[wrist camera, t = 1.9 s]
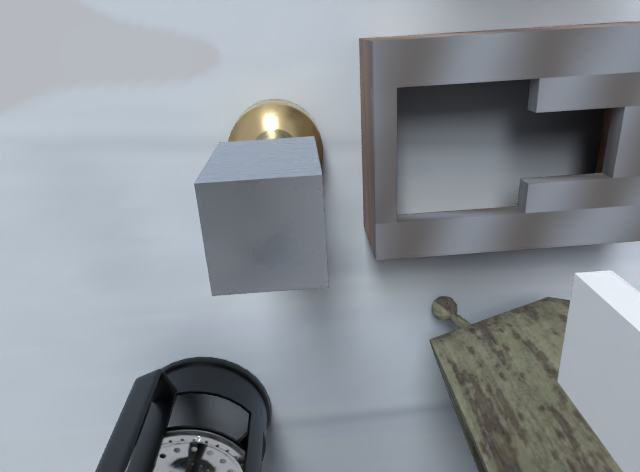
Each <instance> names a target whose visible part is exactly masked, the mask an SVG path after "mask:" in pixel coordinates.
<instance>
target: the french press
mask: <svg viewBox="0 0 640 472" xmlns="http://www.w3.org/2000/svg"><path fill="white" fill-rule="evenodd" d="M189 393H195V394H208V395H214V396H218V397H221V398H224V399H227V400H229V401H231V402H233V403H235V404H237V405H239V406H240V407H242V408H243V409H244V410H245V411H246V412H248V413H249V421H248V430H247V432H246V433H245V434H244V435H243V437H241V438H240V439H239V440H235V439H234V438H232V437H230V436H228V435H226V434H224V433H222V432H219V431H216V430H213V429H210V428H204V427H198V426H173V427H168V428H167V426H168V423H169V419H170V416H171V413H172V410H173V407H174V403H175V400H176V397H177V395H182V394H189ZM270 416H271V406H270V401H269V397H268V395H267V393H266V391H265V389H264V387H263V385H262V384H261V383H260V382H259V380H258V379H257V378H256V377H255V376H254V375H252V374H251V373H250V372H249V371H248V370H246V369H244V368H242V367H241V366H239V365H237V364H235V363H232V362H229V361H227V360H223V359H218V358H212V357H195V358H188V359H183V360H180V361H177V362H173V363H171V364H169V365H168V366H166V367H164V368H162V369H158V370H155V371H153V372H151V373H148V374H146V375H143V376H141V377H139V378H137V379H136V380H135V382H134V385H133V387H132V389H131V391H130V394H129V396H128V398H127V401H126V403H125V405H124V407H123V410H122V412H121V414H120V416H119V419H118V421H117V423H116V426H115V428H114V430H113V432H112V435H111V437H110V439H109V441H108V444H107V446H106V448H105V451H104V453H103V455H102V457H101V460H100V462H99V464H98V466H97V469H96V471H95V472H261V462H262V460H263V457H264V454H265V448H266V432H267V430H268V426H269V423H270Z"/></svg>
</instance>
